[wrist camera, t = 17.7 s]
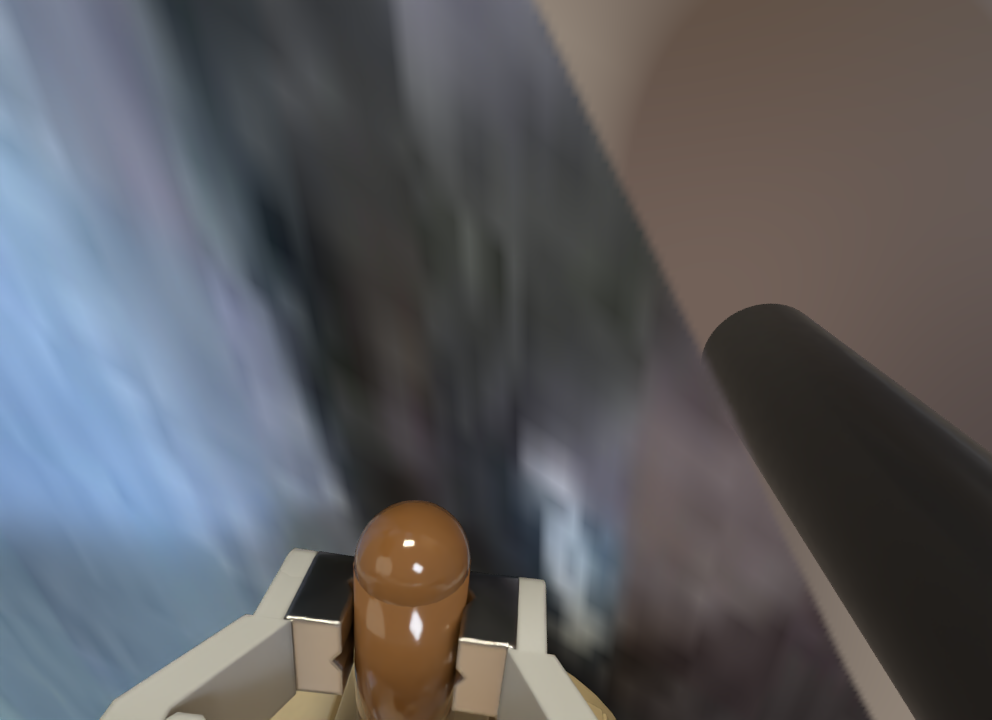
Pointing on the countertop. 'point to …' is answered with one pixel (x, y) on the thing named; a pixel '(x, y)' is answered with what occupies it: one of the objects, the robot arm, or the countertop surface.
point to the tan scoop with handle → (406, 623)
